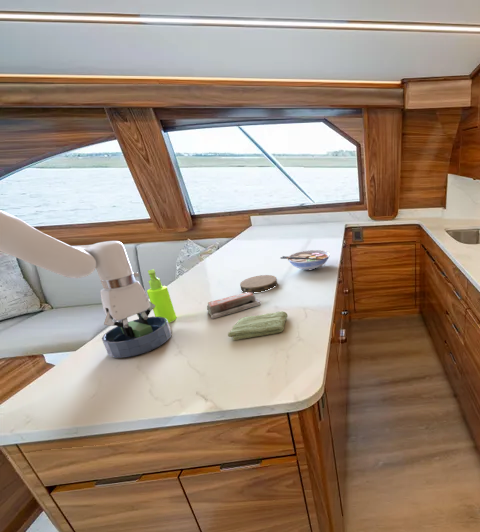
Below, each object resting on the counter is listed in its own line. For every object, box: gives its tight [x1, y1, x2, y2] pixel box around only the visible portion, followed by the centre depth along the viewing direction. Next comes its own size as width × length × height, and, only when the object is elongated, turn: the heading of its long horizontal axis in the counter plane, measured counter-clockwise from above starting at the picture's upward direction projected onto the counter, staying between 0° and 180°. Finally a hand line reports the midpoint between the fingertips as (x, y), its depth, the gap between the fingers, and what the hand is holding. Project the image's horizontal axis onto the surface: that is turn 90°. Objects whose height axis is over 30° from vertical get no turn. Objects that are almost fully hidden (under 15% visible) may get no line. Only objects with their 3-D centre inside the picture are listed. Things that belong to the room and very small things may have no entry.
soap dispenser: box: [146, 268, 177, 323], centre depth 111 cm, size 6×7×20 cm
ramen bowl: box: [280, 249, 331, 271], centre depth 166 cm, size 25×23×8 cm
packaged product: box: [206, 292, 261, 320], centre depth 121 cm, size 18×5×10 cm
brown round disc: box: [239, 274, 278, 294], centre depth 143 cm, size 16×16×3 cm
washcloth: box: [227, 310, 288, 341], centre depth 105 cm, size 13×18×3 cm
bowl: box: [101, 316, 173, 358], centre depth 97 cm, size 16×16×6 cm
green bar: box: [121, 320, 153, 338], centre depth 96 cm, size 10×3×3 cm, turn 69°
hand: (138, 333), depth 97 cm, fingers closed on green bar, 3 cm apart
